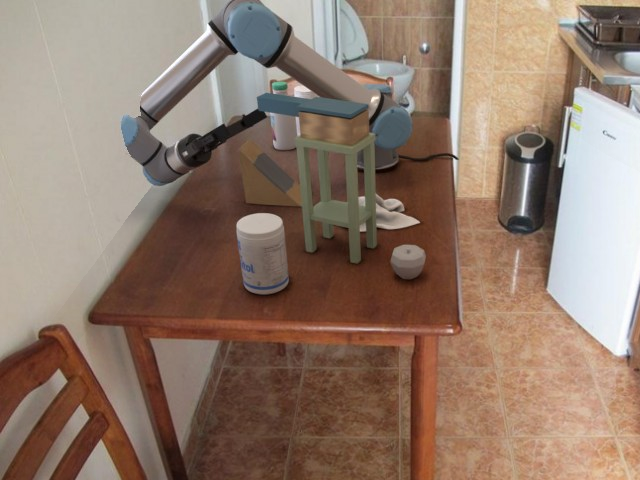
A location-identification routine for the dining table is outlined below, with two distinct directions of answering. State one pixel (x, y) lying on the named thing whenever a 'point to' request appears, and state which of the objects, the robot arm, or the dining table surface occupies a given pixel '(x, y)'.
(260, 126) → the dining table surface
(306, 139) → the stand
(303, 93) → the jar
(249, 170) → the sandwich container
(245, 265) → the supplement tub
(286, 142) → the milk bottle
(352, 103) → the lid
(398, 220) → the cloth
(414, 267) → the apple
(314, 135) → the tea box
